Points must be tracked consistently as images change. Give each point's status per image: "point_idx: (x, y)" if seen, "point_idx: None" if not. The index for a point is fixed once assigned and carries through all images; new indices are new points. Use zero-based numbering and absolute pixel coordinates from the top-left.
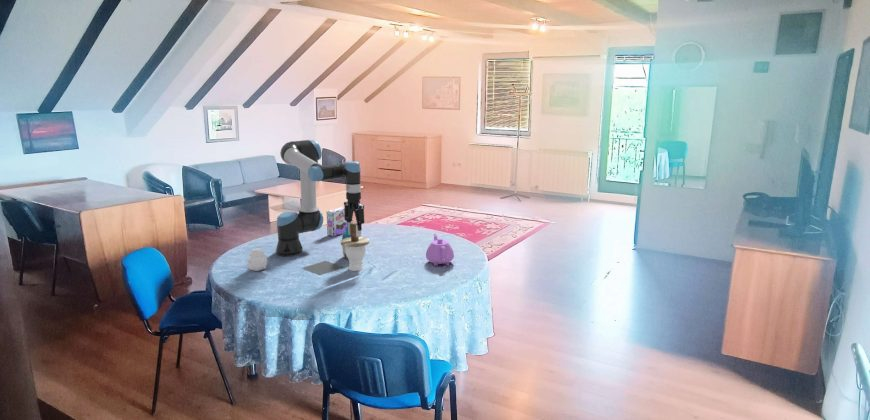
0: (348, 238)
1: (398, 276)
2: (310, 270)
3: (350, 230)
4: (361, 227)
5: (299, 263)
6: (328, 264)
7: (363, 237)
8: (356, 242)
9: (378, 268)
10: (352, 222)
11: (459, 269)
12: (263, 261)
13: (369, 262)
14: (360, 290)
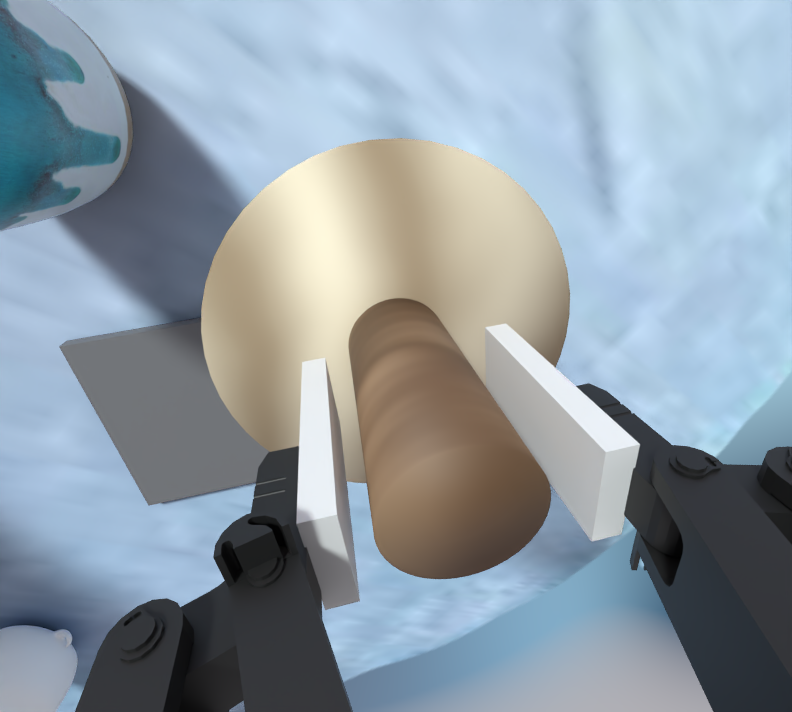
0: (243, 355)
1: (659, 88)
2: (222, 481)
3: (341, 447)
4: (631, 413)
5: (7, 475)
6: (166, 365)
7: (337, 161)
8: (475, 367)
9: (437, 91)
10: (340, 517)
11: None
12: (53, 683)
13: (258, 45)
14: (609, 385)
